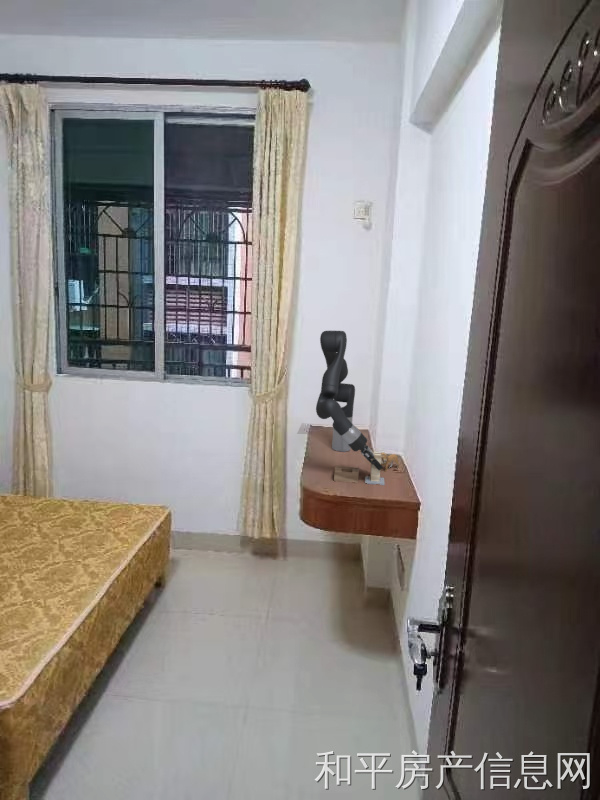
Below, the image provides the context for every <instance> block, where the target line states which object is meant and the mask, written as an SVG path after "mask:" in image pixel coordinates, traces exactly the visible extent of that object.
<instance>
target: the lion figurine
mask: <svg viewBox="0 0 600 800" xmlns="http://www.w3.org/2000/svg"><path fill="white" fill-rule="evenodd" d="M379 454H381V465H382V466H383V467H384V466H385V467H384V472H385V471H387V472H388V469H391V468H392V466H393V465H394V464H395V465H396V469H397V468H399V469H400V463H399V457H398V455H397V454H395V453H393V454H390V455H388V454H387V453H386V452H380V453H379ZM393 463H394V464H393ZM388 467H389V468H388ZM390 467H391V468H390ZM380 471H383V468H382V469H381V470H380Z"/></svg>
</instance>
